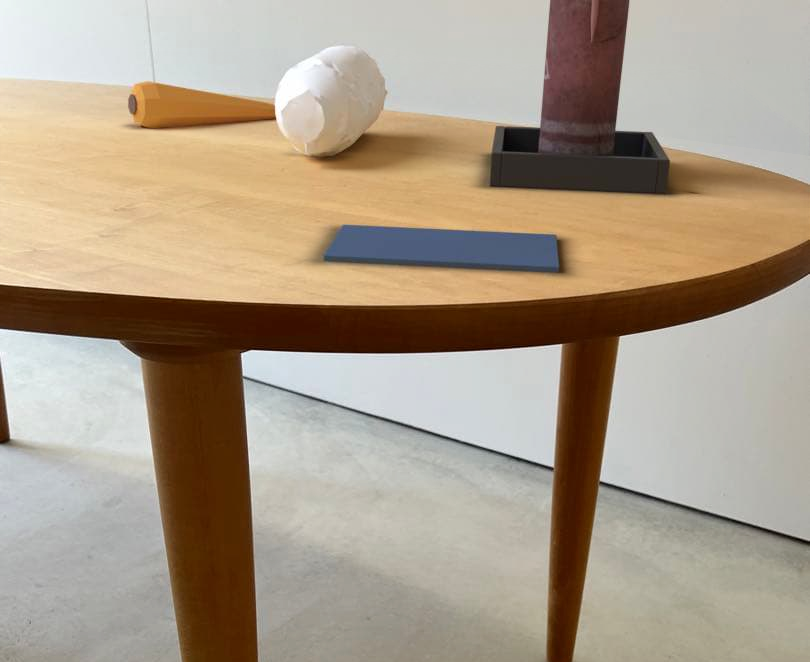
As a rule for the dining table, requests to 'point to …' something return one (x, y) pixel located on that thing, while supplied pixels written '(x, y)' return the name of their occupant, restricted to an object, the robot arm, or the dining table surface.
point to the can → (582, 76)
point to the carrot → (190, 106)
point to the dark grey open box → (579, 164)
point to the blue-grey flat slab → (445, 248)
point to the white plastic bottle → (329, 100)
